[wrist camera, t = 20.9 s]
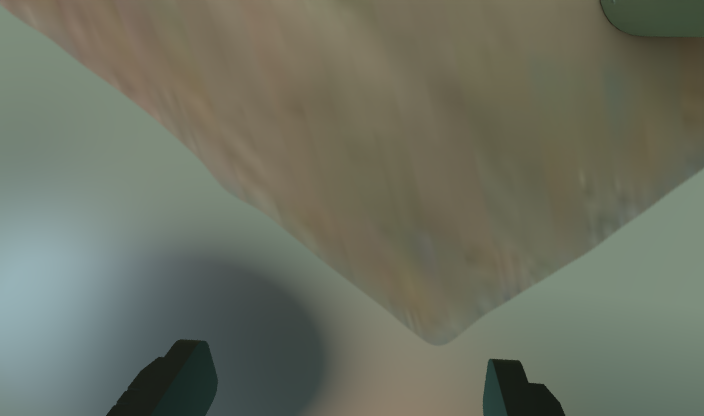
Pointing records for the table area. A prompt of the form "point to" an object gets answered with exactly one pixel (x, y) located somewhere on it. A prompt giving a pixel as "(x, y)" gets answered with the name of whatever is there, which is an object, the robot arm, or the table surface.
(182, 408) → the robot arm
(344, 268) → the table surface
